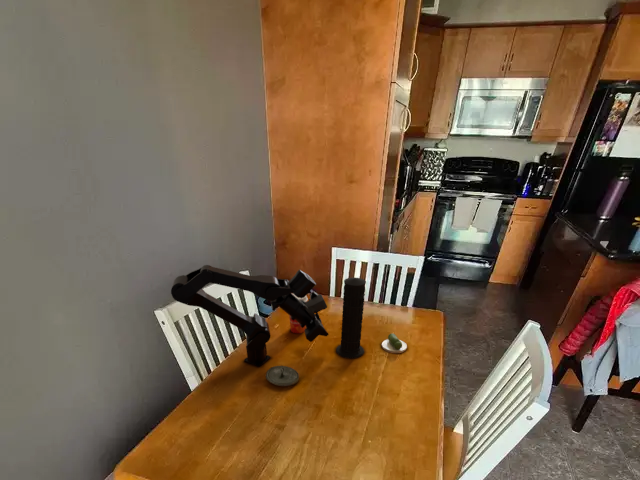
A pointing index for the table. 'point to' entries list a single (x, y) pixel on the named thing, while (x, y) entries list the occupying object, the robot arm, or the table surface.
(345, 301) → the handle grip
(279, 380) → the lid
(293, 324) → the paper cup
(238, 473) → the table surface
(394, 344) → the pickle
